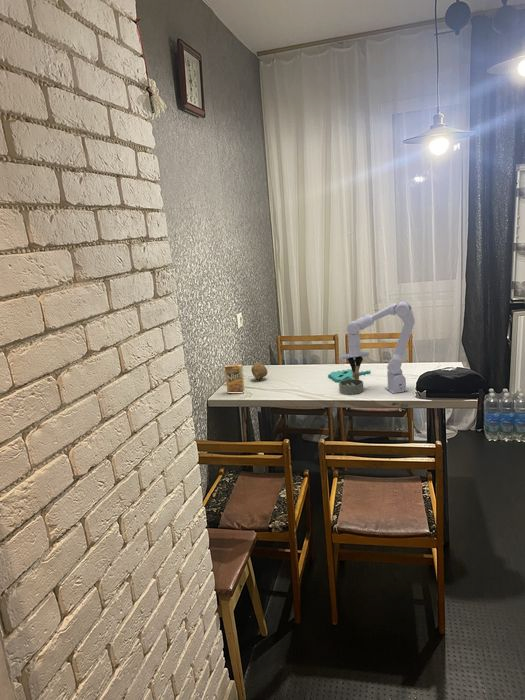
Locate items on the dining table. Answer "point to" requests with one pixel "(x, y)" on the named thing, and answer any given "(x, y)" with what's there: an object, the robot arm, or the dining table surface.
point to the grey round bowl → (351, 387)
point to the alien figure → (344, 375)
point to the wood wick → (356, 372)
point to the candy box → (234, 378)
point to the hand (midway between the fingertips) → (355, 371)
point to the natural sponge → (259, 371)
